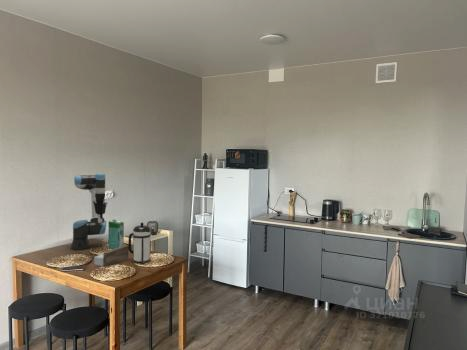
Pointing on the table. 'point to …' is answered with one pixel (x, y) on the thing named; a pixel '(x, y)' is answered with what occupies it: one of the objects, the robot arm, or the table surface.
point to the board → (115, 255)
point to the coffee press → (140, 243)
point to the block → (98, 260)
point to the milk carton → (115, 234)
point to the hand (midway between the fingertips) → (100, 222)
